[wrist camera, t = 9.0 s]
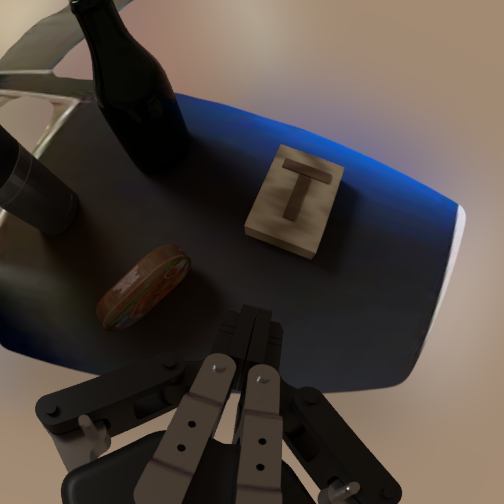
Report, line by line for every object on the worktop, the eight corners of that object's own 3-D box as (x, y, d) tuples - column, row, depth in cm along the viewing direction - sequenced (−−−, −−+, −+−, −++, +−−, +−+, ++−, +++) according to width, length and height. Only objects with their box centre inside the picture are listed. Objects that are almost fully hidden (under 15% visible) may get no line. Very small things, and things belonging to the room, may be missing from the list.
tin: (123, 334, 40) (94, 333, 31) (111, 317, 40) (81, 313, 32) (198, 267, 42) (183, 251, 34) (184, 251, 42) (167, 232, 34)
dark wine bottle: (125, 174, 46) (18, 25, 14) (145, 125, 49) (73, -24, 17) (182, 178, 45) (98, -7, 14) (198, 127, 48) (150, -47, 16)
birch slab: (243, 224, 39) (281, 143, 42) (245, 235, 43) (279, 158, 46) (316, 252, 38) (344, 166, 41) (310, 260, 42) (338, 180, 45)
